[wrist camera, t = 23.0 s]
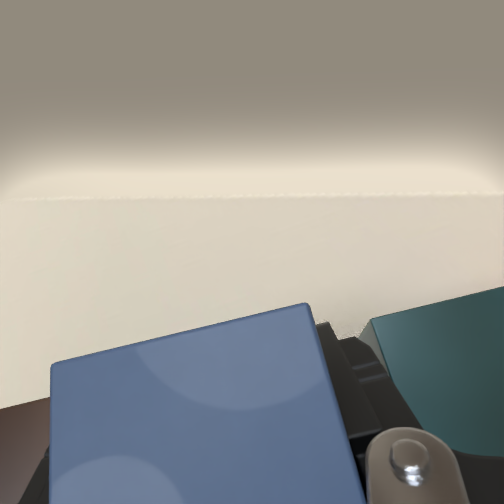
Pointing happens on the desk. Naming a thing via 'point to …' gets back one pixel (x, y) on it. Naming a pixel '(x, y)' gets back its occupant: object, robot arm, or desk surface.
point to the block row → (395, 363)
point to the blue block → (203, 419)
